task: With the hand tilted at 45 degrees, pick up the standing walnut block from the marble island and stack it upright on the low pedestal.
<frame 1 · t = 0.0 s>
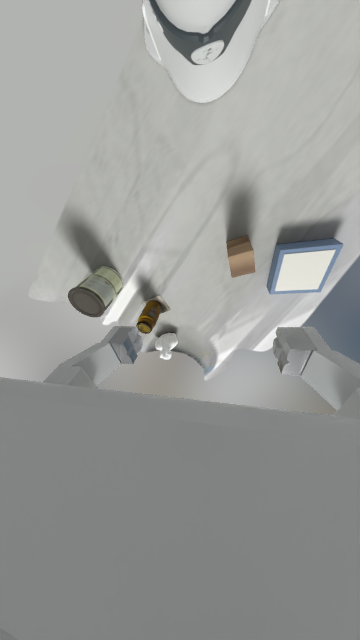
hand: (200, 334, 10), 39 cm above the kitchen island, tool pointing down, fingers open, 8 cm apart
white rounded piece: (168, 337, 72), on the kitchen island
condiment: (156, 305, 60), on the kitchen island
coffee can: (110, 279, 56), on the kitchen island
pedestal: (295, 265, 42), on the kitchen island
walnut block: (237, 248, 42), on the kitchen island
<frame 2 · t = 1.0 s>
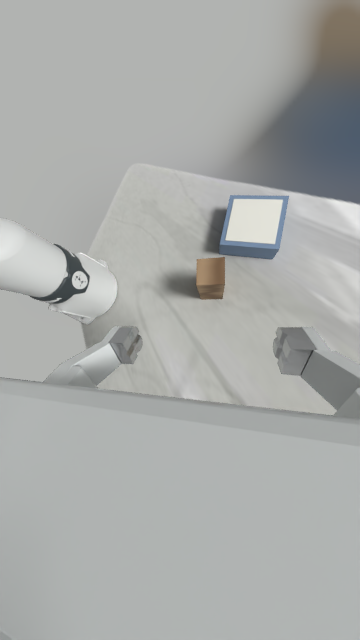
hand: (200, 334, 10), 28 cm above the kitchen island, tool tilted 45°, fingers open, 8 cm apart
pedestal: (249, 233, 38), on the kitchen island
walnut block: (211, 289, 38), on the kitchen island
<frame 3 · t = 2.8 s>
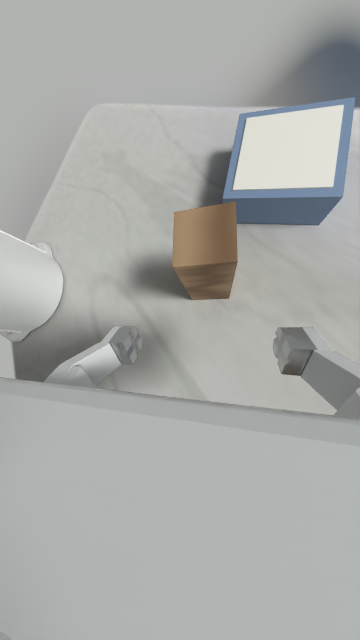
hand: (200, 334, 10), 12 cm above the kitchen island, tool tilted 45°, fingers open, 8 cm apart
pedestal: (273, 184, 22), on the kitchen island
walnut block: (210, 281, 22), on the kitchen island
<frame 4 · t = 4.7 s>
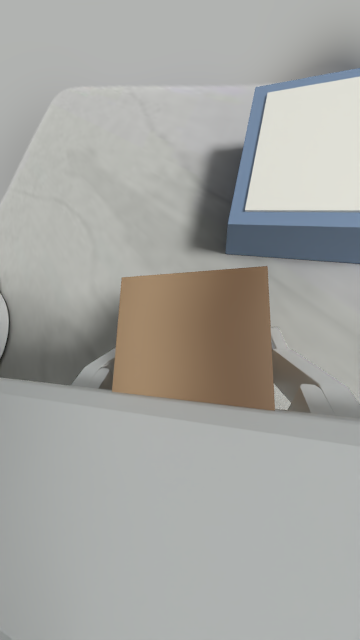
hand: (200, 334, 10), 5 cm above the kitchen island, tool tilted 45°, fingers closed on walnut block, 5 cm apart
pedestal: (305, 197, 14), on the kitchen island
walnut block: (207, 344, 15), on the kitchen island, touching gripper
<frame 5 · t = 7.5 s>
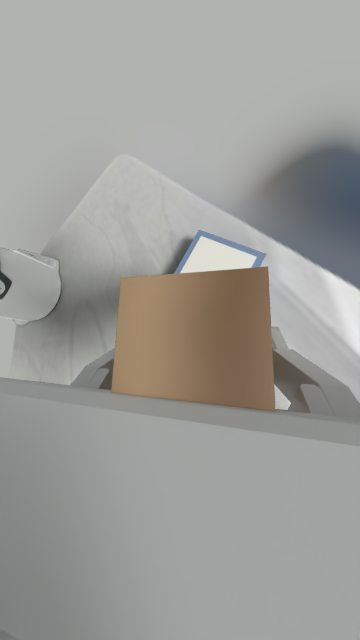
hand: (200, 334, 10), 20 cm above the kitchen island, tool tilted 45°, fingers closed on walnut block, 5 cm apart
pedestal: (213, 281, 30), on the kitchen island
walnut block: (207, 345, 15), point 14 cm above the kitchen island, touching gripper
when the fingers open (11 cm above the kitchen island, at t = 10.4 s): walnut block drops 1 cm, resting on pedestal.
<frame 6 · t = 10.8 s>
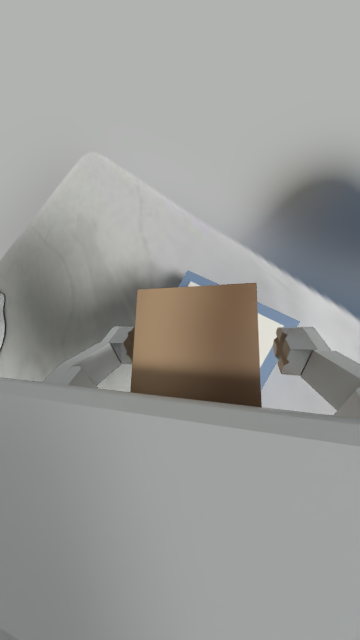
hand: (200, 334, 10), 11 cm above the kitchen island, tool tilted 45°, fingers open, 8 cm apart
pedestal: (210, 344, 20), on the kitchen island
walnut block: (207, 345, 16), point 4 cm above the kitchen island, touching pedestal
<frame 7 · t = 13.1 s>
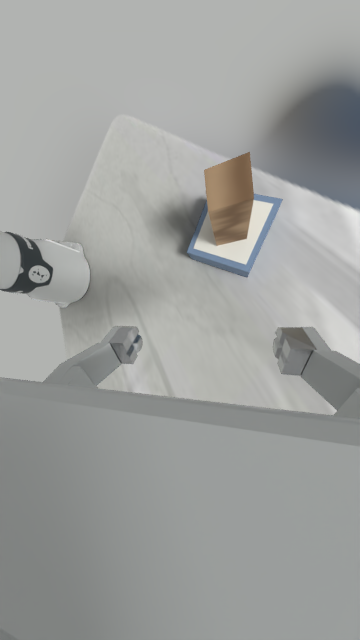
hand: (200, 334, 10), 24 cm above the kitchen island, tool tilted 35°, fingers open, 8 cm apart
pedestal: (230, 238, 32), on the kitchen island
walnut block: (229, 228, 28), point 4 cm above the kitchen island, touching pedestal
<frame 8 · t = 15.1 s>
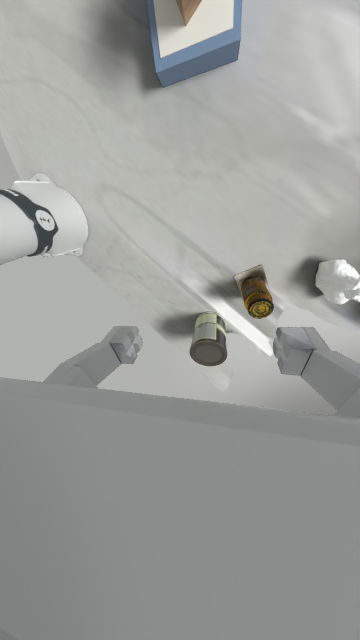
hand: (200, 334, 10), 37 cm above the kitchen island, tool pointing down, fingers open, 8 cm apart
white rounded piece: (330, 275, 40), on the kitchen island
condiment: (251, 283, 44), on the kitchen island
coffee can: (210, 323, 55), on the kitchen island
pedestal: (194, 1, 22), on the kitchen island
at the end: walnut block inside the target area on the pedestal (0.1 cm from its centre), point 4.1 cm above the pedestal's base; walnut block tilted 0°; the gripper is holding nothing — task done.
